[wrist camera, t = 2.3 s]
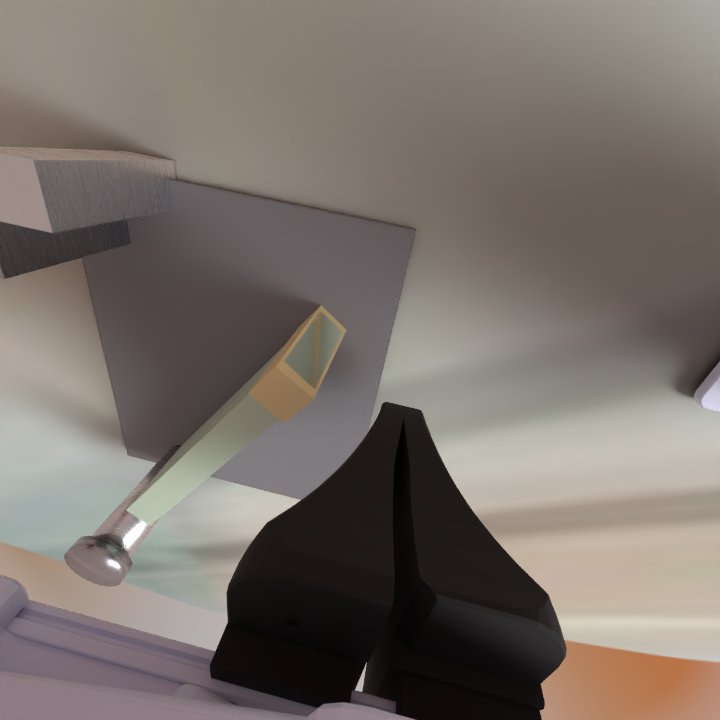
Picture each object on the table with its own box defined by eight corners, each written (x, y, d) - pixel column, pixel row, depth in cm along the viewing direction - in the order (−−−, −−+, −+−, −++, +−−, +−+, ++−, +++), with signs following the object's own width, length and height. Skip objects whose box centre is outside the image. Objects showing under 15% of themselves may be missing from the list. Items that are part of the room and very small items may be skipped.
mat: (415, 229, 12) (415, 231, 12) (350, 505, 20) (348, 511, 20) (68, 157, 13) (58, 156, 13) (132, 450, 21) (127, 455, 20)
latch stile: (174, 160, 12) (33, 160, 8) (182, 251, 14) (68, 294, 10) (103, 146, 13) (-75, 137, 8) (118, 237, 14) (-22, 272, 10)
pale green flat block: (346, 329, 14) (313, 399, 10) (206, 454, 19) (145, 535, 15) (321, 305, 14) (276, 366, 10) (184, 438, 19) (116, 517, 15)
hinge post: (207, 442, 19) (115, 559, 14) (209, 472, 20) (126, 592, 15) (166, 431, 19) (57, 543, 14) (170, 462, 21) (72, 577, 15)
